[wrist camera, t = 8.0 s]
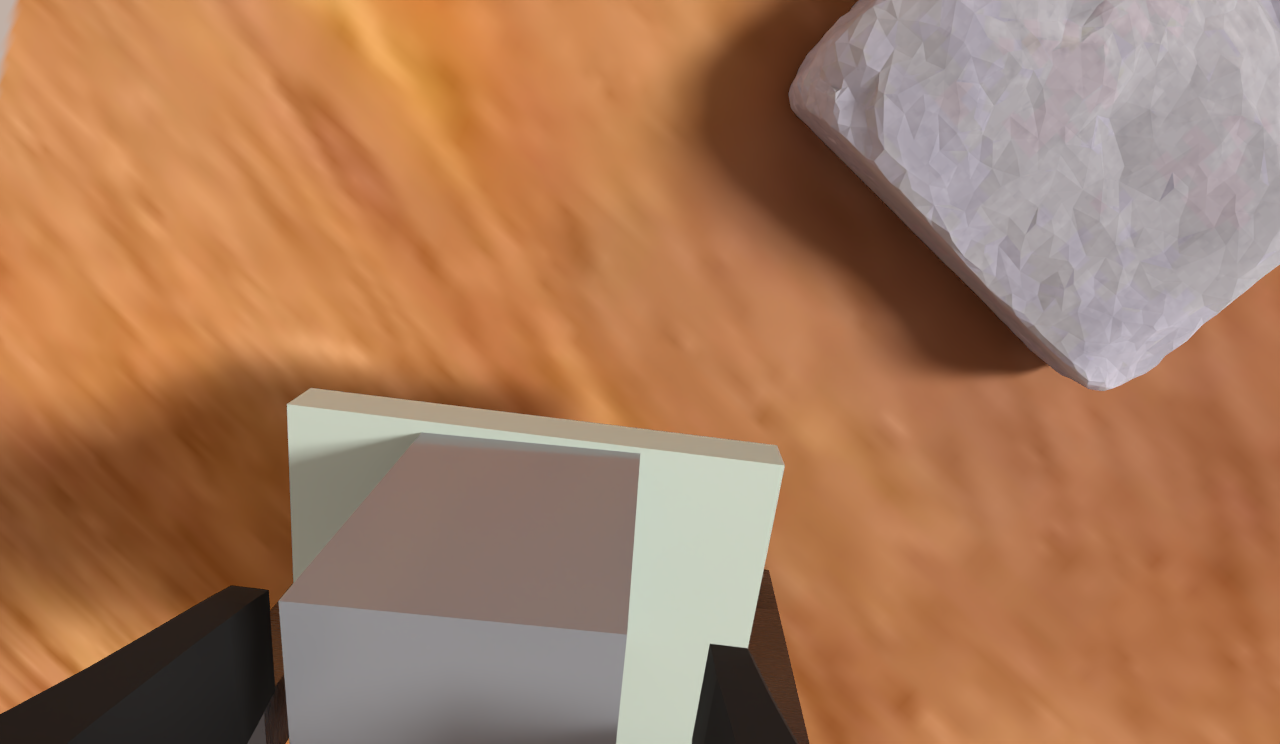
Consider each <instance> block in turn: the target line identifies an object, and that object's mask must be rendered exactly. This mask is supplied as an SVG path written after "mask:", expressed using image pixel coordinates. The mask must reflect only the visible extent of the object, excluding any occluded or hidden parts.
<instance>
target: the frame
mask: <svg viewBox="0 0 1280 744" xmlns="http://www.w3.org/2000/svg"><path fill="white" fill-rule="evenodd" d="M291 586H292V585H291ZM291 586H290V587H291ZM290 587H289V588H290ZM285 593H286V592H285ZM280 599H281V598H280ZM270 617H271V632H272V647H273V662H274V677H275V692H274V694H273V696H272V698H271V700H270V702H269V704H268V706H267V708H266V709H265V711H264V713H263V715H262V717H261V719H260V721H259V723H258V725H257V727H256V729H255V731H254V732H253V734H252V736H251V738H250V740H249V742H248V743H247V744H285V743H286V742H287V740H288V738H289V729H288V716H287V704H286V691H285V678H284V665H283V653H282V640H281V627H280V615H279V602H277V603H276V605H275V606H274V607H273V608H272V609H271V611H270ZM748 650H749V651H750V653H751V654H752V655H753V657H754V660H755V662H756V664H757V666H758V668H759V670H760V672H761V674H762V676H763V678H764V680H765V682H766V684H767V686H768V688H769V690H770V692H771V694H772V696H773V698H774V700H775V702H776V704H777V706H778V708H779V709H780V711H781V713H782V715H783V717H784V719H785V721H786V722H787V724H788V726H789V728H790V729H791V731H792V733H793V735H794V736H795V738H796V740H797V742H798V743H799V744H809V740H808V736H807V732H806V727H805V723H804V719H803V715H802V710H801V706H800V702H799V698H798V693H797V689H796V685H795V680H794V676H793V672H792V668H791V663H790V659H789V655H788V651H787V646H786V642H785V638H784V633H783V629H782V625H781V621H780V616H779V612H778V608H777V604H776V599H775V595H774V591H773V586H772V582H771V578H770V574H769V570H764V571H763V576H762V581H761V586H760V591H759V596H758V600H757V605H756V610H755V615H754V620H753V625H752V630H751V635H750V640H749V645H748Z"/></svg>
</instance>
